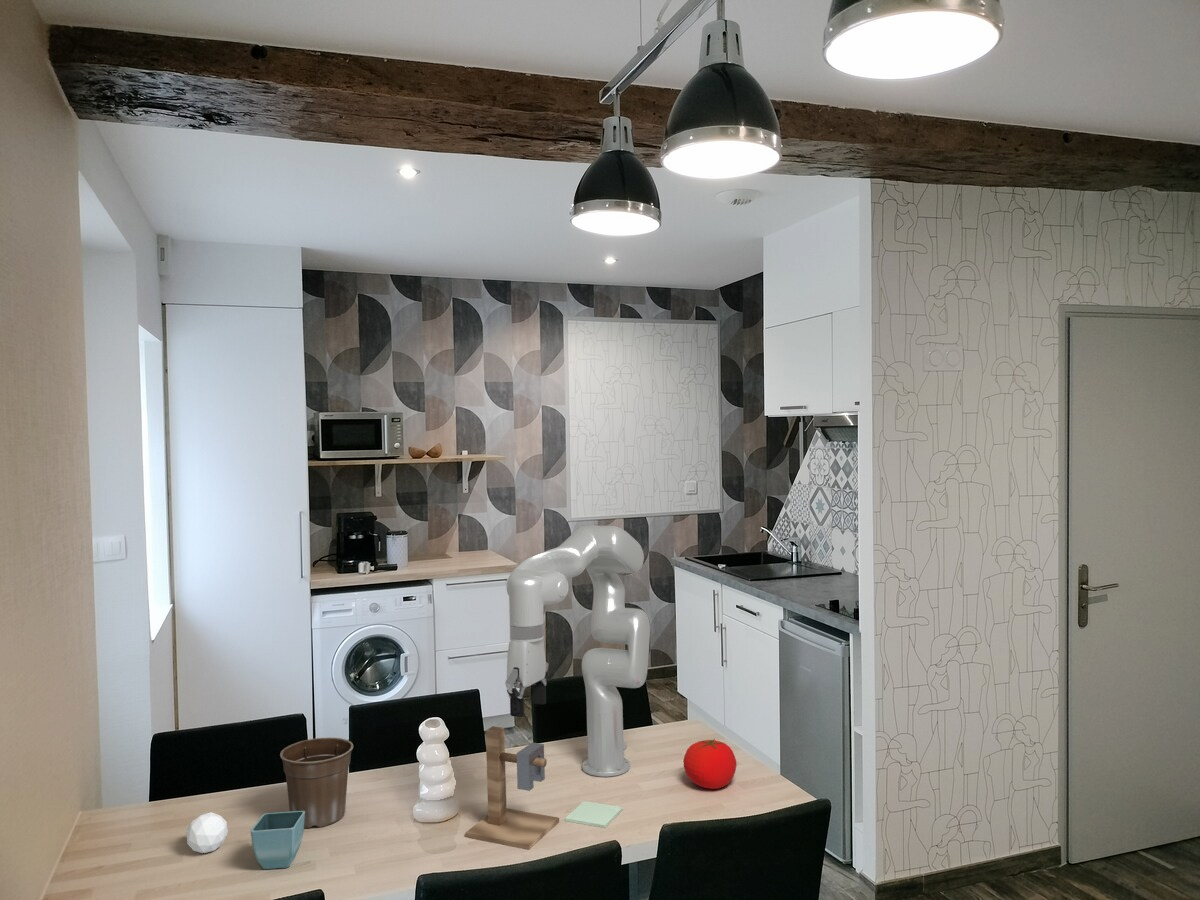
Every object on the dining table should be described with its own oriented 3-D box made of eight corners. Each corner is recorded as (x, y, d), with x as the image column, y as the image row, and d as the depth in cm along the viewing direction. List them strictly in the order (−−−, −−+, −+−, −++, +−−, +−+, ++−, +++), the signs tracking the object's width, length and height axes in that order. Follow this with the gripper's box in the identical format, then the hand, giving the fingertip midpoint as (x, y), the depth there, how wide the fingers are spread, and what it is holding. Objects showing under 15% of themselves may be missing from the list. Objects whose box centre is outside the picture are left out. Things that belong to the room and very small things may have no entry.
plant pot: (369, 809, 199) (367, 741, 199) (320, 838, 184) (318, 765, 184) (317, 798, 206) (315, 733, 206) (266, 826, 191) (264, 756, 191)
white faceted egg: (192, 849, 173) (162, 842, 180) (224, 859, 178) (194, 852, 185) (210, 810, 177) (181, 804, 184) (241, 821, 183) (211, 815, 189)
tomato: (746, 786, 206) (745, 741, 206) (706, 799, 199) (705, 753, 199) (714, 771, 216) (713, 729, 216) (675, 784, 209) (674, 740, 209)
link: (533, 777, 188) (532, 742, 188) (544, 778, 187) (543, 744, 187) (517, 788, 182) (516, 753, 182) (529, 790, 180) (528, 754, 180)
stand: (498, 811, 196) (496, 717, 196) (561, 822, 189) (558, 725, 189) (465, 837, 183) (462, 737, 183) (531, 850, 176) (528, 746, 176)
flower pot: (264, 854, 178) (263, 812, 178) (306, 851, 178) (305, 809, 178) (250, 875, 169) (249, 831, 169) (295, 872, 170) (294, 828, 170)
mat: (584, 803, 199) (584, 800, 199) (622, 809, 195) (622, 807, 195) (565, 820, 190) (565, 818, 190) (605, 828, 186) (605, 825, 186)
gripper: (531, 623, 193) (532, 697, 193) (491, 639, 178) (493, 719, 178) (559, 625, 190) (561, 700, 190) (522, 641, 175) (524, 723, 174)
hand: (528, 709), depth 184 cm, fingers open, 9 cm apart
